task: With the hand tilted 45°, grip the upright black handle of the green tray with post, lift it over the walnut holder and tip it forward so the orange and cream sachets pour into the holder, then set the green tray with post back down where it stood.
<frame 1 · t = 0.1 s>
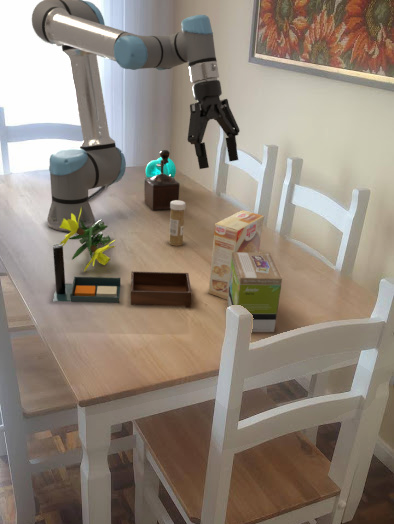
hand: (219, 164, 159), 28 cm above the table, tool tilted 20°, fingers open, 13 cm apart
holder: (160, 296, 150), on the table
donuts: (160, 183, 237), on the table
wooden coffee grinder: (159, 203, 215), on the table
daffodil flowers: (89, 257, 168), on the table
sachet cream: (106, 293, 148), resting on green tray with post
sachet orange: (85, 292, 148), resting on green tray with post
spice jar: (175, 244, 182), on the table
tea box: (249, 318, 143), on the table
coffeecake box: (232, 288, 157), on the table
green tray with post: (61, 293, 147), on the table, touching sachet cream, sachet orange
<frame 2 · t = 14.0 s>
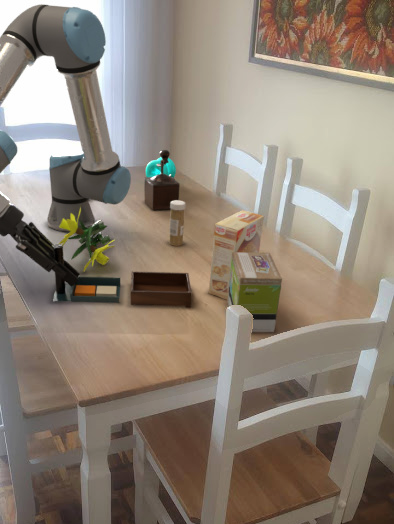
hand: (75, 280, 146), 4 cm above the table, tool tilted 45°, fingers closed on green tray with post, 2 cm apart
green tray with post: (61, 293, 147), on the table, touching gripper, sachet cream, sachet orange
everything else where it was.
when the fingers open (4 cm above the table, at t = 31.6 s): green tray with post stays where it is, on the table.
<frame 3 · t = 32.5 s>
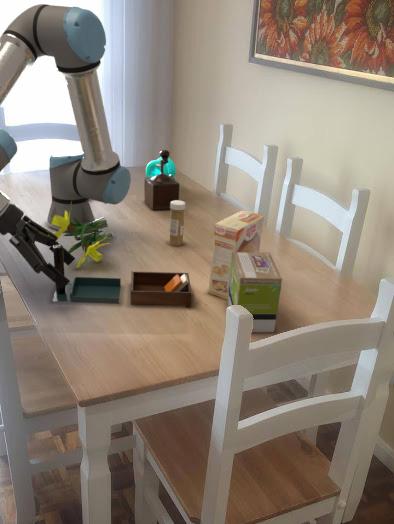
hand: (69, 273, 144), 6 cm above the table, tool tilted 45°, fingers open, 13 cm apart
daffodil flowers: (87, 254, 170), on the table
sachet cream: (178, 283, 150), point 3 cm above the table, tilted 133°, touching holder, sachet orange
sachet orange: (174, 286, 150), point 2 cm above the table, tilted 47°, touching holder, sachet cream
green tray with post: (61, 293, 147), on the table
everything else where it was.
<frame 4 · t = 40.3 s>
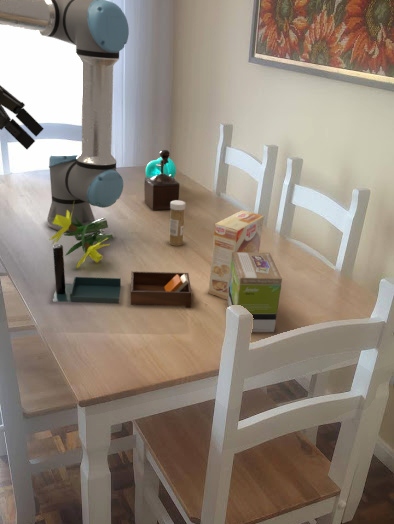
hand: (35, 138, 137), 36 cm above the table, tool tilted 45°, fingers open, 13 cm apart
nothing on the table moved.
at the end: sachet orange inside the target area in the holder (4.0 cm from its centre), point 2.4 cm above the holder's base; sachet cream inside the target area in the holder (4.9 cm from its centre), point 3.2 cm above the holder's base; green tray with post inside the target area (0.1 cm from its centre), on the table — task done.
